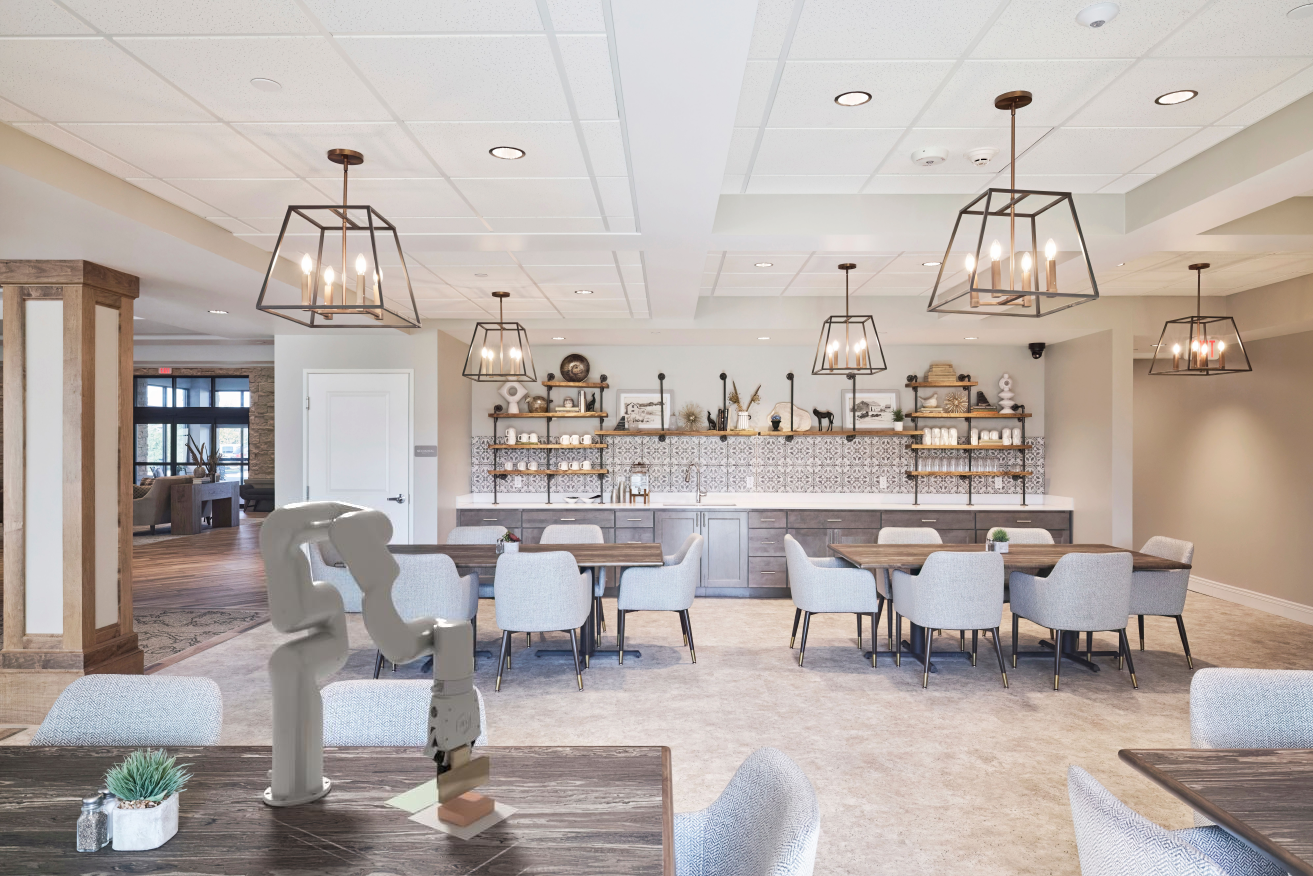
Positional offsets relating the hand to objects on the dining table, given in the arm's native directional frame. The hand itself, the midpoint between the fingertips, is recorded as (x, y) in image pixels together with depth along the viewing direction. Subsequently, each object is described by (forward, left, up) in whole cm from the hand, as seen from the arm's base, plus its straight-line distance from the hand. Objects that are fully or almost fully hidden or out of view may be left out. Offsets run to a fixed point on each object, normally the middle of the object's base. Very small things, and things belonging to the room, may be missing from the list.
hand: (453, 778), depth 147 cm
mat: (+3, 0, -6) cm, 7 cm away
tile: (0, 0, -5) cm, 5 cm away
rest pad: (-10, +3, -6) cm, 12 cm away
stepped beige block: (0, 0, -2) cm, 2 cm away
